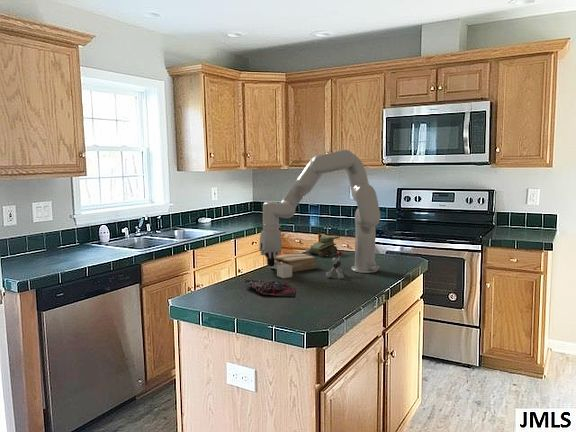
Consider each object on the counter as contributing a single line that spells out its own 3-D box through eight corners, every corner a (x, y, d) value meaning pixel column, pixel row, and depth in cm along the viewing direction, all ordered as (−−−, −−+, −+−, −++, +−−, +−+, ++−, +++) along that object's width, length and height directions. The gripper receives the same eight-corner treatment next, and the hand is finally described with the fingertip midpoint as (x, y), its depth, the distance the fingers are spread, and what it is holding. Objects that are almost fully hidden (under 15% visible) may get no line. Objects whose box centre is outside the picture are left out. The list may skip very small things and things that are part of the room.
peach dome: (296, 266, 234) (296, 263, 234) (282, 267, 232) (282, 264, 232) (291, 263, 241) (292, 259, 241) (278, 264, 239) (278, 260, 238)
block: (292, 276, 221) (292, 265, 220) (283, 278, 218) (283, 267, 217) (286, 274, 225) (286, 263, 224) (277, 275, 222) (277, 265, 222)
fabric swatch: (247, 283, 209) (247, 276, 209) (296, 286, 209) (296, 278, 208) (240, 296, 190) (240, 287, 189) (294, 298, 189) (294, 290, 189)
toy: (344, 253, 274) (345, 236, 273) (320, 257, 263) (321, 239, 262) (332, 250, 282) (332, 233, 281) (308, 254, 271) (308, 237, 269)
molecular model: (324, 278, 219) (325, 255, 218) (331, 272, 230) (331, 250, 229) (342, 279, 216) (343, 256, 215) (348, 273, 228) (348, 251, 226)
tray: (305, 267, 236) (305, 259, 235) (280, 270, 228) (280, 263, 227) (292, 262, 245) (292, 255, 244) (268, 266, 237) (268, 259, 236)
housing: (315, 268, 238) (315, 257, 237) (290, 272, 229) (290, 261, 229) (299, 262, 249) (299, 252, 248) (274, 266, 241) (274, 255, 240)
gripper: (279, 225, 236) (279, 262, 238) (253, 228, 228) (253, 266, 230) (288, 227, 230) (288, 265, 232) (261, 230, 222) (261, 269, 224)
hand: (270, 265), depth 231 cm, fingers closed
